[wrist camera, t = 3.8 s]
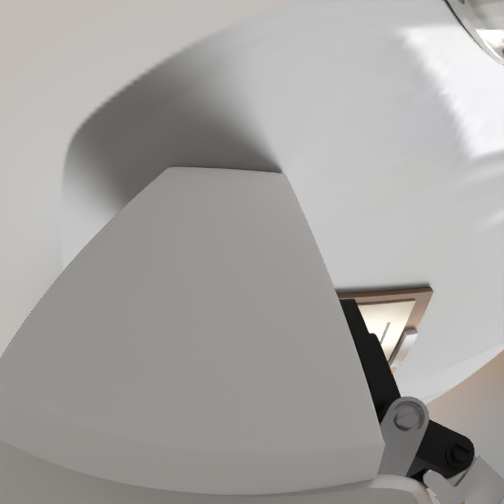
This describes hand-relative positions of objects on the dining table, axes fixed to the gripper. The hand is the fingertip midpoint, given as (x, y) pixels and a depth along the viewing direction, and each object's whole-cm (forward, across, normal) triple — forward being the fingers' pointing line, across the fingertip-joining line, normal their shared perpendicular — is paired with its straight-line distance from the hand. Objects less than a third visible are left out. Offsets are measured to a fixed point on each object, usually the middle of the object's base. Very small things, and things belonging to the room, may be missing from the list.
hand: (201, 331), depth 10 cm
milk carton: (+10, 0, 0) cm, 10 cm away
